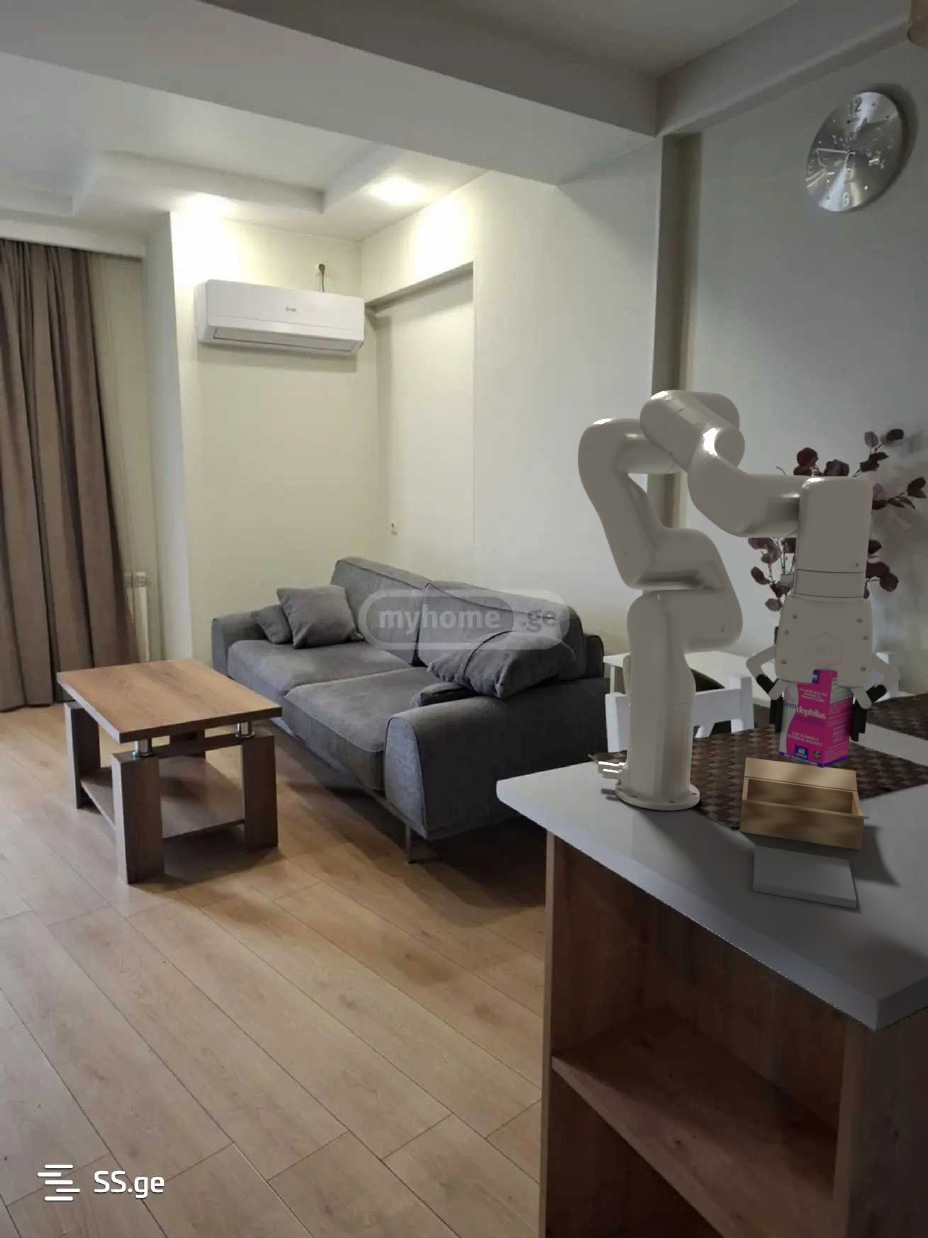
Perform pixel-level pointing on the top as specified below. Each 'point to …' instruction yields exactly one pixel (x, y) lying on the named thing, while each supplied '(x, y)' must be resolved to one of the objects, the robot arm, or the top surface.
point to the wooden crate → (802, 803)
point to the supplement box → (817, 720)
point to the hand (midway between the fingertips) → (815, 733)
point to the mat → (803, 876)
